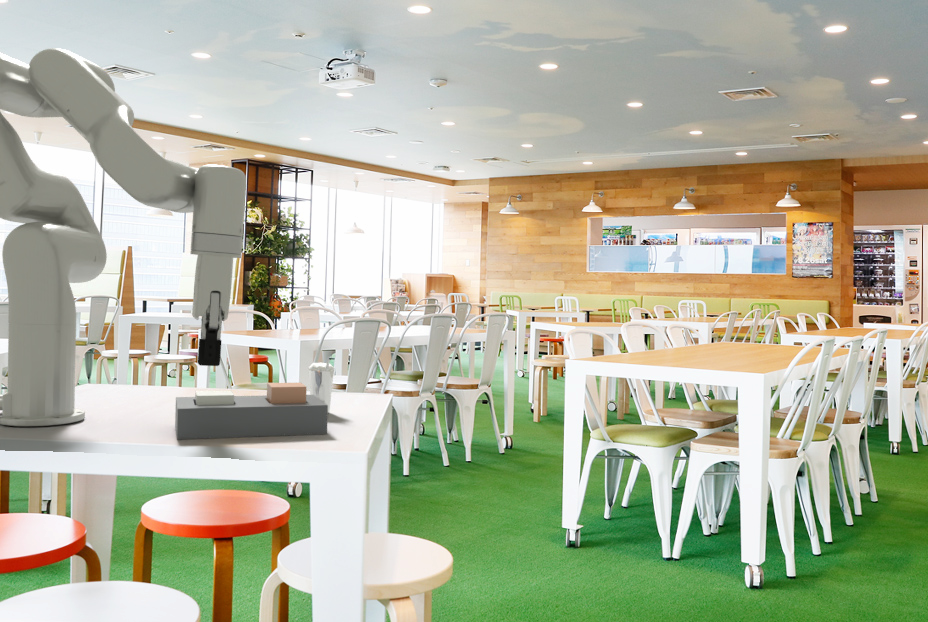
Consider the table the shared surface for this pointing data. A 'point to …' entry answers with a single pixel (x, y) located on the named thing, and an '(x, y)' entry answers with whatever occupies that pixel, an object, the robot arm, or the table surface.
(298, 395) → the clay key
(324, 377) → the milkshake
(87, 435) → the table surface
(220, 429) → the key panel
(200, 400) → the white square block
